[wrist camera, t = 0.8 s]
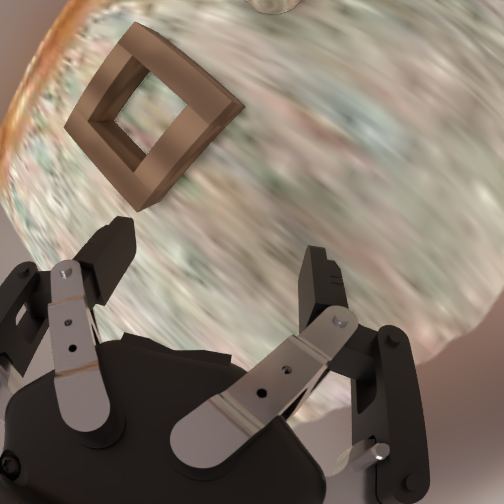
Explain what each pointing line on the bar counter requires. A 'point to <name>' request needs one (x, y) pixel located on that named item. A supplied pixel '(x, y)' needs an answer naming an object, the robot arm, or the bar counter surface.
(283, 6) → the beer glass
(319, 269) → the robot arm
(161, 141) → the walnut well block
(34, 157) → the bar counter surface
